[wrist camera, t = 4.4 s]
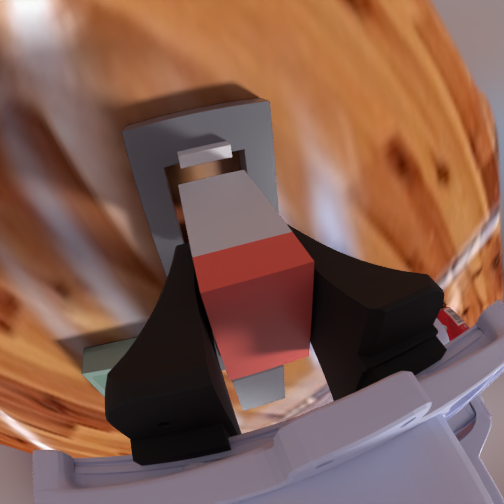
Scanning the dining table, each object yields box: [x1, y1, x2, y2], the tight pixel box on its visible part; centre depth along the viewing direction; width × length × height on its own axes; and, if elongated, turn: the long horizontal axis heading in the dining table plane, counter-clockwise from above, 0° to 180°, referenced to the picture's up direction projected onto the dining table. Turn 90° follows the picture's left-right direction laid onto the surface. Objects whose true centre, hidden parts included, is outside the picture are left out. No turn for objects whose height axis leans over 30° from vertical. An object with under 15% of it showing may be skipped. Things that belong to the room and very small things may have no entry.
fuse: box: [232, 365, 285, 411], centre depth 20 cm, size 3×4×7 cm, turn 6°
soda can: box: [437, 307, 469, 341], centre depth 31 cm, size 7×7×12 cm
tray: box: [82, 337, 137, 397], centre depth 23 cm, size 8×8×2 cm
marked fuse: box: [178, 170, 314, 380], centre depth 12 cm, size 3×4×7 cm, turn 6°
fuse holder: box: [122, 98, 279, 370], centre depth 19 cm, size 7×20×2 cm, turn 6°
